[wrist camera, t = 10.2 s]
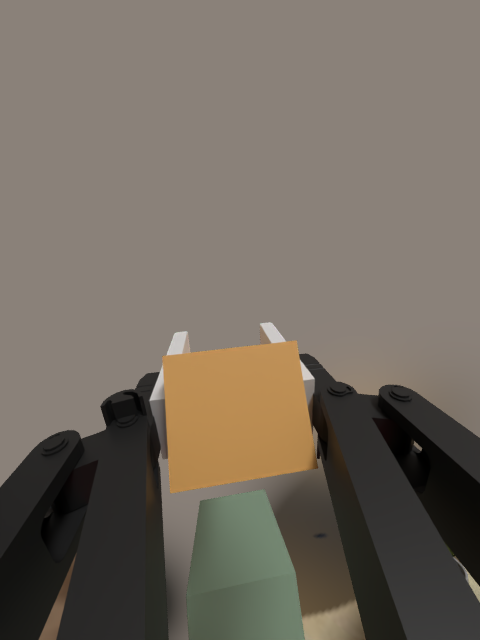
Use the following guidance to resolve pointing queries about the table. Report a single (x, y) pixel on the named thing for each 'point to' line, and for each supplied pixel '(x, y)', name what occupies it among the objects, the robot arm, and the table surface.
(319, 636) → the table surface
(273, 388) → the orange wooden block
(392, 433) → the robot arm
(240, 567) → the green block
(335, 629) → the table surface
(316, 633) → the table surface
